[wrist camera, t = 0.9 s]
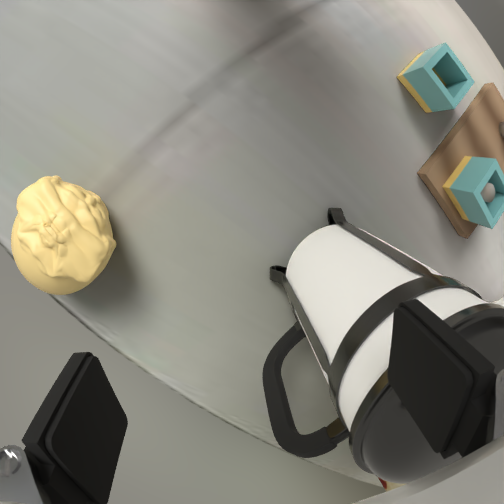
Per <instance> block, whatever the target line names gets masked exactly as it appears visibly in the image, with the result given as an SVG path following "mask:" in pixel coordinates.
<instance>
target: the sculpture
mask: <svg viewBox="0 0 504 504" xmlns="http://www.w3.org/2000/svg"><path fill="white" fill-rule="evenodd" d="M17 211H18V215H17V217H16V219H15V222H14V225H13V229H12V235H11V246H12V252H13V256H14V259H15V262H16V264H17V266H18V268H19V270H20V272H21V273H22V274H23V276H24V277H25V278H26V279H27V280H28V281H29V282H30V283H31V284H32V285H34V286H35V287H37V288H38V289H40V290H42V291H44V292H47V293H50V294H55V295H65V294H71V293H74V292H77V291H79V290H81V289H83V288H84V287H86V286H87V285H89V284H90V283H91V282H92V281H93V280H94V279H95V278H96V277H97V276H98V275H99V274H100V273H101V272H102V271H103V270H104V268H105V267H106V265H107V263H108V262H109V259H110V257H111V255H112V253H113V250H114V249H115V247H116V241H115V240H113V234H112V228H111V224H110V221H109V212H108V210H107V208H106V206H105V204H104V203H103V202H102V201H101V198H100V197H99V196H98V195H96V194H95V193H93V192H91V191H86V190H85V189H83V188H82V187H80V186H78V185H74V184H70V183H67V182H63V181H62V179H61V178H60V177H59V176H53V177H50V176H46V177H43V178H41V179H39V180H38V181H37V182H36V183H34V184H32V185H30V186H29V187H27V188H26V189H25V190H23V191H22V192H21V193H20V195H19V196H18V199H17Z"/></svg>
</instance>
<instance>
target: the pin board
mask: <svg viewBox="0 0 504 504" xmlns="http://www.w3.org/2000/svg"><path fill="white" fill-rule="evenodd" d="M465 156H472V157H484V158H495V159H496V160H497V162H498V164H499V166H500V168H501V170H502V172H503V174H504V100H503V98H502V96H501V95H500V93H499V91H498V90H497V88H496V86H495V85H494V83H488V84H484V86H483V87H482V89H481V90H480V91H479V93H478V94H477V96H476V97H475V98H474V100H473V101H472V103H471V104H470V105H469V107H468V108H467V109H466V111H465V112H464V114H463V115H462V116H461V118H460V119H459V120H458V122H457V123H456V124H455V126H454V127H453V128H452V130H451V131H450V132H449V133H448V135H447V136H446V137H445V139H444V140H443V141H442V142H441V144H440V145H439V146H438V148H437V149H436V150H435V151H434V153H433V154H432V155H431V156H430V158H429V159H428V160H427V161H426V163H425V164H424V165H423V166H422V168H421V169H420V170H419V171H418V172H417V174H418V175H419V176H420V178H421V179H422V180H423V182H424V183H425V185H426V186H427V187H428V189H429V190H430V192H431V193H432V195H433V196H434V197H435V199H436V200H437V202H438V203H439V205H440V206H441V208H442V209H443V211H444V212H445V214H446V215H447V217H448V219H449V220H450V222H451V223H452V225H453V226H454V228H455V230H456V231H457V233H458V235H459V236H462V237H464V238H467V239H468V237H469V236H470V235H471V233H472V232H473V230H474V229H475V228H476V226H477V225H478V224H476V223H473V222H470V221H467V220H464V219H462V217H461V215H460V214H459V212H458V210H457V209H456V207H455V205H454V204H453V202H452V201H451V199H450V198H449V196H448V194H447V193H446V191H445V190H444V188H443V187H442V186H443V185H444V184H445V182H446V181H447V180H448V178H449V177H450V176H451V174H452V173H453V172H454V170H455V169H456V168H457V166H458V165H459V164H460V162H461V161H462V159H463V158H464V157H465ZM480 194H481V196H482V198H483V200H484V202H488V203H490V202H492V201H493V199H494V197H495V188H494V186H493V184H492V183H488V182H487V184H486V185H485V187H484V188H483V190H482V191H481V193H480Z"/></svg>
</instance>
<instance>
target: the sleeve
mask: <svg viewBox="0 0 504 504" xmlns="http://www.w3.org/2000/svg"><path fill="white" fill-rule="evenodd" d="M397 78H398V79H399V80H400V82H401V83H402V84H403V85H404V86H405V88H406V89H407V90H408V91H409V92H410V94H411V95H412V96H413V97H414V98H415V100H416V101H417V102H418V104H419V105H420V106H421V107H422V109H423V110H424V111H425V113H429V112H436V111H443V110H450V109H455V107H456V106H457V105H458V104H459V102H460V101H461V100H462V98H463V97H464V96H465V94H466V93H467V92H468V90H469V89H470V88H471V86H472V85H473V84H474V81H473V79H472V78H471V76H470V75H469V73H468V72H467V70H466V69H465V68H464V66H463V65H462V63H461V62H460V61H459V59H458V58H457V57H456V55H455V54H454V53H453V51H452V50H451V49H450V48H449V46H448V45H447V44H446V43H443V44H440V45H438V46H436V47H433V48H431V49H428V50H426V51H424V52H422V53H419V54H418V55H417V56H416V57H415V58H414V59H413V60H412V61H411V63H410V64H409V65H408V66H407V67H406V68H405V69H404V70H403V71H402V72H401V73H400V74H399V75H398V76H397Z"/></svg>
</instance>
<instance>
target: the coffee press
mask: <svg viewBox="0 0 504 504" xmlns="http://www.w3.org/2000/svg"><path fill="white" fill-rule="evenodd" d="M328 221H329V226H326V227H323V228H320V229H318V230H316V231H314V232H313V233H311V234H310V235H308V236H307V237H306V238H305V239H304V240H303V241H302V242H301V243H300V244H299V245H298V246H297V248H296V249H295V251H294V252H293V254H292V256H291V258H290V260H289V263H288V266H287V268H286V267H282V266H271V267H270V280H272V281H275V282H278V283H280V284H282V285H283V286H284V288H285V290H286V292H287V294H288V299H289V303H290V306H291V308H292V311H293V313H294V310H295V313H296V315H297V316H296V315H295V313H294V315H295V317H296V319H297V322H296V323H295V324H294V326H293V327H292V328H291V329H290V330H289V331H288V332H286V333H285V334H284V335H283V336H282V338H281V339H280V340H279V341H278V342H277V343H276V344H275V346H274V347H273V348H272V350H271V351H270V353H269V355H268V357H267V359H266V361H265V364H264V368H263V386H264V392H265V397H266V403H267V408H268V413H269V418H270V422H271V426H272V430H273V433H274V436H275V438H276V440H277V442H278V444H279V445H280V446H281V447H282V448H283V449H284V450H286V451H287V452H290V453H292V454H294V455H296V456H298V457H303V458H311V457H316V456H319V455H322V454H325V453H327V452H329V451H331V450H333V449H334V448H335V447H337V444H338V443H339V442H341V441H343V440H345V439H346V438H347V437H349V446H350V450H351V453H352V455H353V458H354V460H355V462H356V463H357V465H358V466H359V467H360V468H361V469H363V470H364V471H366V472H368V473H371V474H375V475H376V476H377V477H379V478H381V479H383V480H385V481H388V482H392V483H398V484H408V483H410V482H412V481H415V480H417V479H419V478H422V477H424V476H426V475H428V474H430V473H433V472H435V471H437V470H439V469H441V468H443V467H445V466H447V465H449V464H451V463H453V462H455V461H457V460H459V459H461V458H462V456H461V455H460V453H459V452H458V453H456V454H454V455H452V456H450V457H448V458H446V459H443V457H442V456H441V454H440V452H439V453H436V452H434V451H433V449H432V448H431V446H430V444H429V443H428V441H427V440H426V438H425V437H424V435H423V434H422V432H421V430H420V429H419V427H418V426H417V424H416V423H415V421H414V420H413V418H412V417H411V415H410V414H409V412H408V411H407V409H406V408H405V406H404V405H403V403H402V402H401V400H400V399H399V397H398V396H397V394H396V393H395V391H394V390H393V388H392V387H391V385H390V384H389V381H388V377H387V373H388V365H389V357H390V348H391V339H392V328H393V315H394V310H395V309H396V308H398V305H399V303H401V302H405V301H408V300H412V299H418V300H419V301H420V302H422V303H423V304H424V305H425V306H426V307H428V308H429V309H430V310H431V311H432V312H434V313H435V314H436V315H437V316H438V317H440V318H441V319H442V320H443V321H444V322H445V323H447V324H448V325H449V326H450V327H451V328H452V329H454V330H455V331H456V332H457V333H458V334H459V335H461V336H462V337H463V338H464V339H465V340H466V341H467V342H469V343H470V344H471V345H472V346H473V347H474V348H475V349H476V350H478V351H479V352H480V353H481V354H482V355H483V356H484V357H485V358H486V359H487V360H489V361H490V362H491V363H492V364H493V365H494V366H495V369H494V373H495V374H496V375H498V374H499V372H500V371H502V370H503V369H504V296H503V297H502V298H501V299H500V300H499V301H498V302H496V303H489V302H486V301H484V300H483V299H482V298H481V296H480V295H479V294H478V293H477V292H475V291H474V290H472V289H471V288H469V287H467V286H466V285H464V284H463V283H461V282H459V281H458V280H456V279H453V278H450V277H446V276H443V275H441V274H440V273H438V272H436V271H435V270H433V269H431V268H430V267H428V266H426V265H425V264H423V263H421V262H420V261H418V260H416V259H414V258H413V257H411V256H409V255H408V254H406V253H404V252H402V251H401V250H399V249H397V248H395V247H394V246H392V245H390V244H388V243H386V242H385V241H383V240H381V239H379V238H377V237H375V236H374V235H372V234H370V233H368V232H366V231H364V230H362V229H360V228H358V227H355V226H353V225H352V224H350V223H348V222H347V221H346V219H345V217H344V214H343V211H342V209H341V208H329V209H328ZM464 288H465V289H464ZM293 308H294V310H293ZM304 337H307V339H308V341H309V343H310V345H311V348H312V350H313V352H314V354H315V356H316V358H317V361H318V363H319V365H320V367H321V369H322V372H323V374H324V376H325V378H326V380H327V383H328V385H329V391H330V396H331V399H332V402H333V404H334V406H335V409H336V411H337V413H338V416H339V418H337V419H336V420H335V421H333V422H332V423H331V424H329V425H328V426H327V427H323V428H321V429H320V430H318V431H316V432H314V433H311V434H308V435H301V434H299V432H298V431H297V429H296V427H295V424H294V421H293V418H292V414H291V410H290V407H289V403H288V399H287V396H286V392H285V388H284V385H283V381H282V377H281V366H282V363H283V360H284V358H285V356H286V355H287V353H288V352H289V351H290V350H291V349H292V348H293V347H294V346H295V345H296V344H297V343H298V342H299V341H300V340H301V339H303V338H304Z"/></svg>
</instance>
